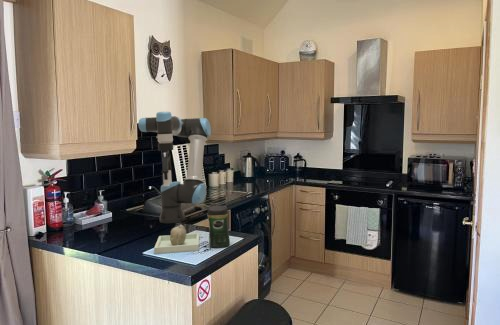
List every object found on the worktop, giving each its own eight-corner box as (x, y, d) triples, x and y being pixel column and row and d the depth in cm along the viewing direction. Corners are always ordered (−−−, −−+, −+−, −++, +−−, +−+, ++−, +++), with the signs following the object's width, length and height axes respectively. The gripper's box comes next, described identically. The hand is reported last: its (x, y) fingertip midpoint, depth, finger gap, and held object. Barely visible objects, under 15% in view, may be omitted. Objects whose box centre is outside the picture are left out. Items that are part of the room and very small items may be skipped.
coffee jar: (229, 242, 182) (228, 203, 180) (229, 247, 174) (228, 207, 173) (209, 243, 181) (207, 204, 180) (208, 248, 174) (206, 208, 172)
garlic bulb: (180, 246, 184) (183, 225, 187) (190, 247, 178) (193, 225, 180) (163, 245, 178) (166, 223, 181) (172, 245, 172) (175, 223, 175)
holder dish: (159, 241, 188) (159, 236, 188) (199, 238, 190) (199, 233, 190) (154, 254, 169) (154, 247, 169) (199, 250, 171) (198, 244, 171)
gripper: (160, 142, 206) (162, 181, 207) (154, 143, 181) (157, 188, 183) (174, 141, 207) (177, 180, 208) (170, 143, 182) (173, 187, 184)
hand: (167, 184), depth 196 cm, fingers open, 13 cm apart
